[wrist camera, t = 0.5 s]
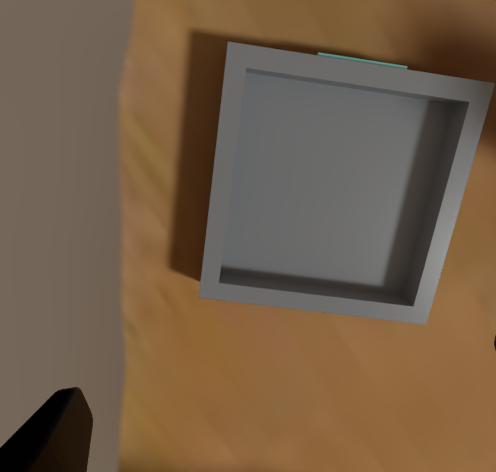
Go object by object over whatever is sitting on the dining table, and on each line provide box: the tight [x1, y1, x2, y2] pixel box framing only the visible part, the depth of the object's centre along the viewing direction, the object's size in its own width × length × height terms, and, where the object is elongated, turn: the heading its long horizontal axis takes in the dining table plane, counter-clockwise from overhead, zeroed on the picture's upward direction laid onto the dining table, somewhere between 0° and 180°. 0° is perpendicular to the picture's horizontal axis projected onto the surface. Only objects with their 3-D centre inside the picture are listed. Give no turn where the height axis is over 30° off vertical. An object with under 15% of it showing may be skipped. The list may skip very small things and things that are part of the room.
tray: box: [199, 42, 495, 325], centre depth 21 cm, size 13×13×2 cm
